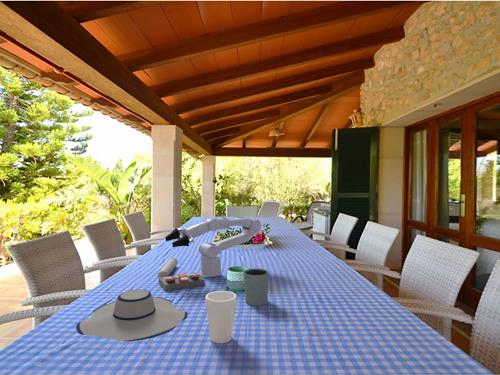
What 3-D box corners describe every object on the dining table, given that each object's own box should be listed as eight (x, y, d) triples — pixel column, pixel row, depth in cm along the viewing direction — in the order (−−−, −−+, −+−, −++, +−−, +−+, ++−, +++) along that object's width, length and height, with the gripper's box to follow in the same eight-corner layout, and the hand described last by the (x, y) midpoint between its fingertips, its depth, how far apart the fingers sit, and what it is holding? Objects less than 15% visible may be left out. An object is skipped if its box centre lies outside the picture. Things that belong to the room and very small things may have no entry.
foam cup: (206, 331, 109) (206, 291, 108) (235, 330, 109) (235, 290, 109) (205, 346, 99) (204, 302, 99) (236, 345, 100) (236, 301, 99)
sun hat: (94, 304, 134) (94, 281, 134) (187, 298, 140) (187, 276, 140) (59, 349, 99) (59, 317, 98) (186, 339, 105) (186, 310, 104)
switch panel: (196, 278, 166) (196, 271, 166) (204, 285, 155) (204, 278, 155) (158, 283, 158) (158, 276, 158) (165, 290, 147) (165, 283, 147)
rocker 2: (185, 274, 158) (185, 272, 158) (188, 281, 153) (189, 279, 152) (177, 275, 156) (177, 273, 156) (180, 282, 151) (181, 280, 151)
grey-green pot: (250, 308, 128) (250, 276, 128) (239, 299, 137) (239, 270, 136) (273, 303, 133) (273, 273, 132) (261, 295, 142) (261, 267, 141)
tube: (169, 272, 162) (178, 259, 187) (158, 269, 162) (169, 256, 187) (165, 283, 162) (175, 268, 187) (154, 279, 162) (166, 265, 187)
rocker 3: (196, 276, 160) (196, 274, 160) (200, 276, 155) (200, 274, 155) (189, 277, 159) (189, 274, 159) (193, 277, 153) (192, 275, 154)
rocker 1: (173, 279, 155) (173, 277, 155) (176, 279, 150) (176, 277, 150) (165, 280, 154) (165, 278, 154) (168, 280, 148) (168, 278, 148)
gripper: (186, 219, 170) (161, 229, 163) (200, 229, 159) (174, 240, 152) (188, 231, 173) (163, 242, 166) (203, 242, 162) (177, 253, 155)
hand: (169, 242), depth 159 cm, fingers open, 7 cm apart
